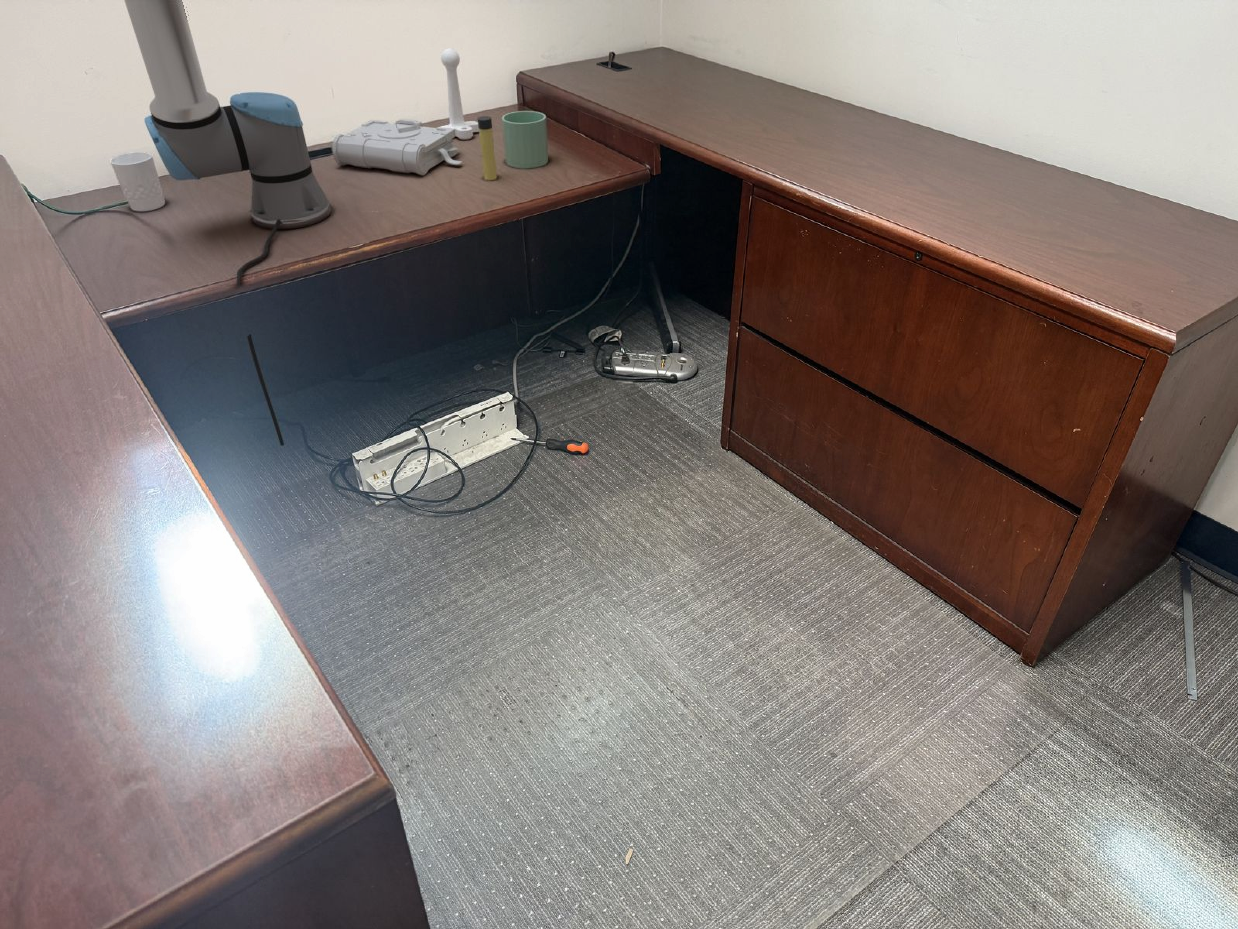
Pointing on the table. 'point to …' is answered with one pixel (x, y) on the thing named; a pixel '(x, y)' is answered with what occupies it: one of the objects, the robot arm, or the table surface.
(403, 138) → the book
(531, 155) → the pen cup
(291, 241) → the table surface
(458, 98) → the joystick
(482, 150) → the marker
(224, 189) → the table surface
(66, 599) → the table surface
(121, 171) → the white cup
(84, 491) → the table surface
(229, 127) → the robot arm
